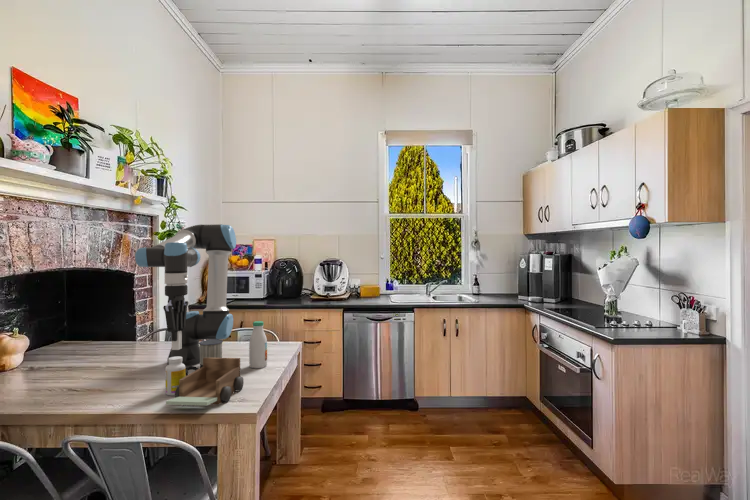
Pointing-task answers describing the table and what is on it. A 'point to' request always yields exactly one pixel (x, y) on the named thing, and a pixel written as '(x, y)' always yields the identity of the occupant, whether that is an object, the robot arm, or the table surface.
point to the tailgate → (191, 401)
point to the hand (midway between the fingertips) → (176, 349)
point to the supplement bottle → (174, 374)
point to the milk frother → (208, 352)
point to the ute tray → (212, 380)
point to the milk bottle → (258, 346)
